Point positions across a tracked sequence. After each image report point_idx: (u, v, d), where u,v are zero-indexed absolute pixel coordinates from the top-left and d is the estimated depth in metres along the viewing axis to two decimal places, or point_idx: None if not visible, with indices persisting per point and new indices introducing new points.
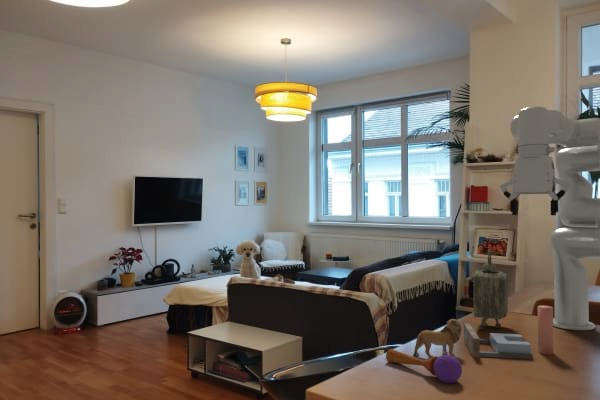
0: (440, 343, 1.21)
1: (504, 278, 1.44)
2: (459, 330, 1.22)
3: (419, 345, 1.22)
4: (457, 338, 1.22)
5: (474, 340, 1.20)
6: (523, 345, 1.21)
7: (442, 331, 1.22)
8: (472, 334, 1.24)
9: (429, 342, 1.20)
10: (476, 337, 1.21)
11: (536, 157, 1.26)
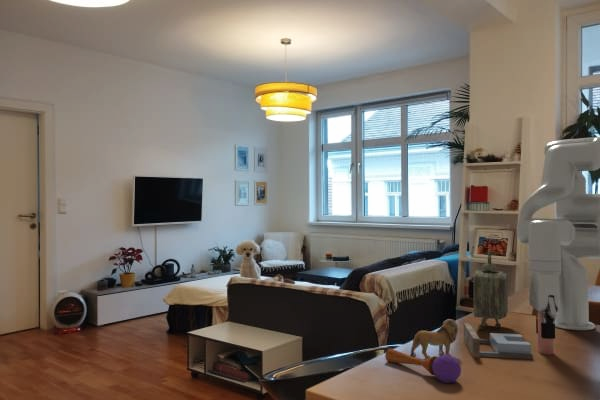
0: (437, 343, 1.21)
1: (504, 278, 1.44)
2: (455, 330, 1.22)
3: (416, 345, 1.22)
4: (453, 338, 1.22)
5: (474, 340, 1.20)
6: (523, 345, 1.21)
7: (439, 331, 1.22)
8: (472, 334, 1.24)
9: (426, 342, 1.20)
10: (476, 337, 1.21)
11: None
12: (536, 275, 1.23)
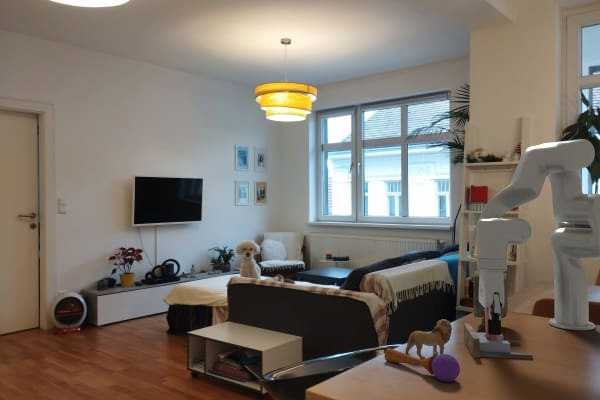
0: (431, 344, 1.20)
1: (504, 278, 1.44)
2: (449, 330, 1.22)
3: (410, 346, 1.22)
4: (448, 338, 1.21)
5: (474, 340, 1.20)
6: (502, 344, 1.22)
7: (433, 331, 1.21)
8: (472, 334, 1.24)
9: (420, 343, 1.20)
10: (476, 337, 1.21)
11: None
12: (483, 273, 1.25)
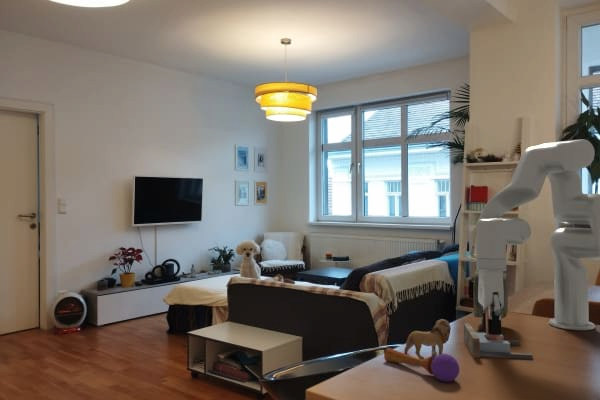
0: (430, 344, 1.20)
1: (504, 278, 1.44)
2: (448, 330, 1.22)
3: (409, 346, 1.21)
4: (447, 338, 1.21)
5: (474, 340, 1.20)
6: (502, 344, 1.22)
7: (432, 332, 1.21)
8: (472, 334, 1.24)
9: (419, 343, 1.19)
10: (476, 337, 1.21)
11: None
12: (482, 273, 1.26)
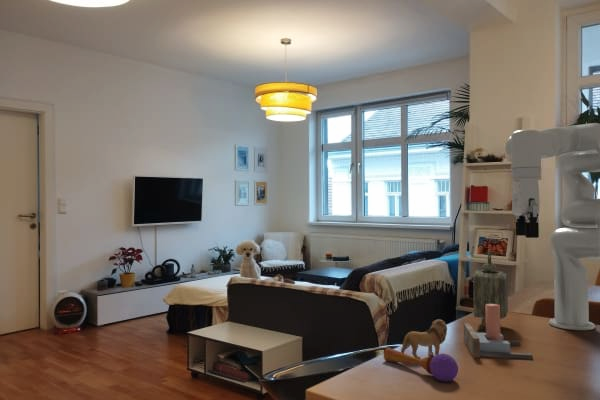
0: (427, 344, 1.20)
1: (504, 278, 1.44)
2: (445, 330, 1.22)
3: (406, 346, 1.21)
4: (443, 338, 1.21)
5: (474, 340, 1.20)
6: (502, 344, 1.22)
7: (428, 332, 1.21)
8: (472, 334, 1.24)
9: (416, 343, 1.19)
10: (476, 337, 1.21)
11: None
12: (518, 182, 1.29)
